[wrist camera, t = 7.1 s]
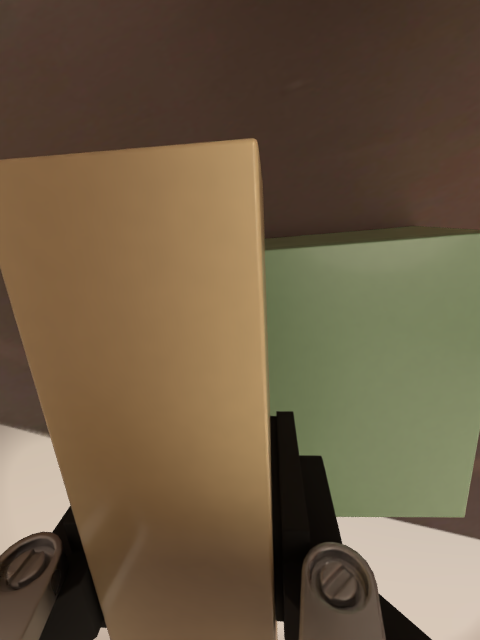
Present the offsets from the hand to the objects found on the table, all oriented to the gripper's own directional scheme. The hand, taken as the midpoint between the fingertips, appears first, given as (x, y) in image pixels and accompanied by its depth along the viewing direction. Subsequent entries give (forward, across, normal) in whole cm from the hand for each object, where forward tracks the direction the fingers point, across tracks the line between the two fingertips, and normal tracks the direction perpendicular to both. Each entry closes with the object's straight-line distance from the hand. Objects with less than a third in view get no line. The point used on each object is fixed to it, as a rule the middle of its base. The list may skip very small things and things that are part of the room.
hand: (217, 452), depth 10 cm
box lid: (+9, -7, +3) cm, 12 cm away
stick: (0, 0, 0) cm, 0 cm away
